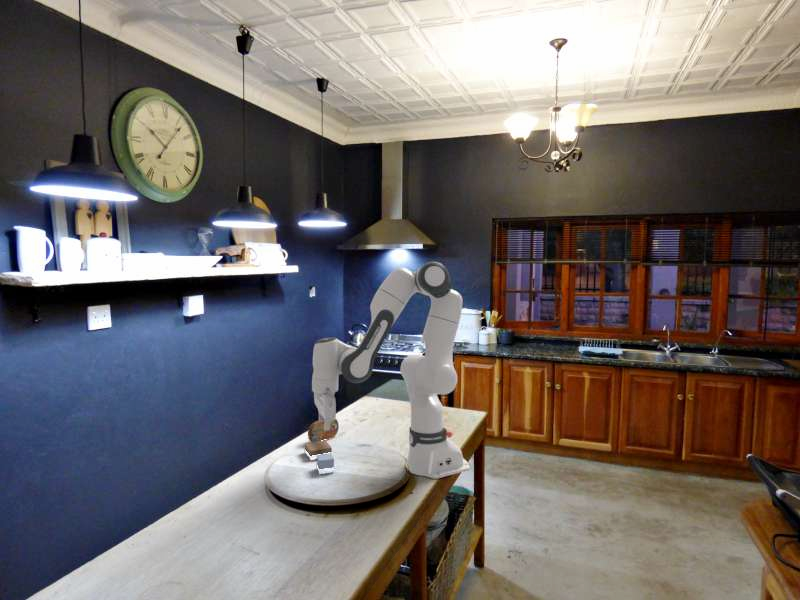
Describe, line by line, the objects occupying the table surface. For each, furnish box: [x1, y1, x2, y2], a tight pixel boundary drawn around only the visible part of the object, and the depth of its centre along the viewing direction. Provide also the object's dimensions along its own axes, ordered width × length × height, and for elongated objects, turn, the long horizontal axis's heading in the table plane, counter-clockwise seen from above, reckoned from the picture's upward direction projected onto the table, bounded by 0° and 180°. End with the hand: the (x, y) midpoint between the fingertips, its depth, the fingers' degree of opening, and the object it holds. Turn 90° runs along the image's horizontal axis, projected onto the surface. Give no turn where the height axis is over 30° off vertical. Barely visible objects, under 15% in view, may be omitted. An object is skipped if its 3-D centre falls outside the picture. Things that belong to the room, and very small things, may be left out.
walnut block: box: [304, 440, 333, 456], centre depth 179 cm, size 8×8×4 cm
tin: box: [307, 418, 340, 442], centre depth 194 cm, size 15×3×8 cm, turn 143°
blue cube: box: [316, 453, 335, 469], centre depth 166 cm, size 5×5×5 cm
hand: (324, 425), depth 165 cm, fingers open, 8 cm apart
